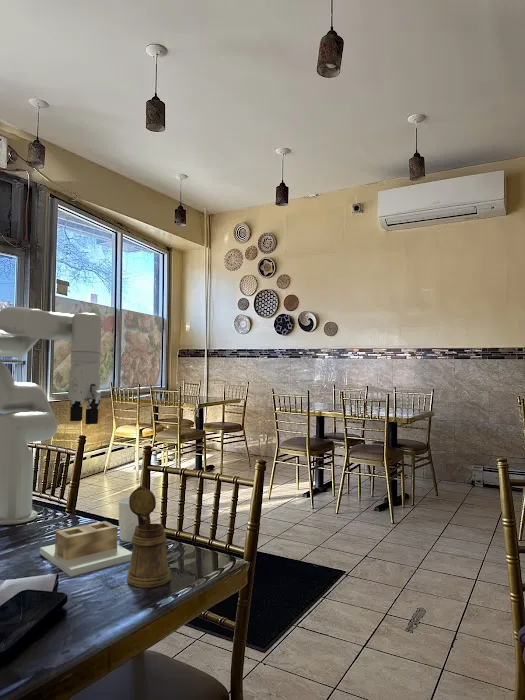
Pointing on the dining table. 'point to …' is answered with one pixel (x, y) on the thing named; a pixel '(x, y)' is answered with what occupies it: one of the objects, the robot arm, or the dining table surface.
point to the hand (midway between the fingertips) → (83, 422)
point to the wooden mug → (147, 544)
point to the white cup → (126, 520)
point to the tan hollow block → (85, 540)
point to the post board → (87, 560)
